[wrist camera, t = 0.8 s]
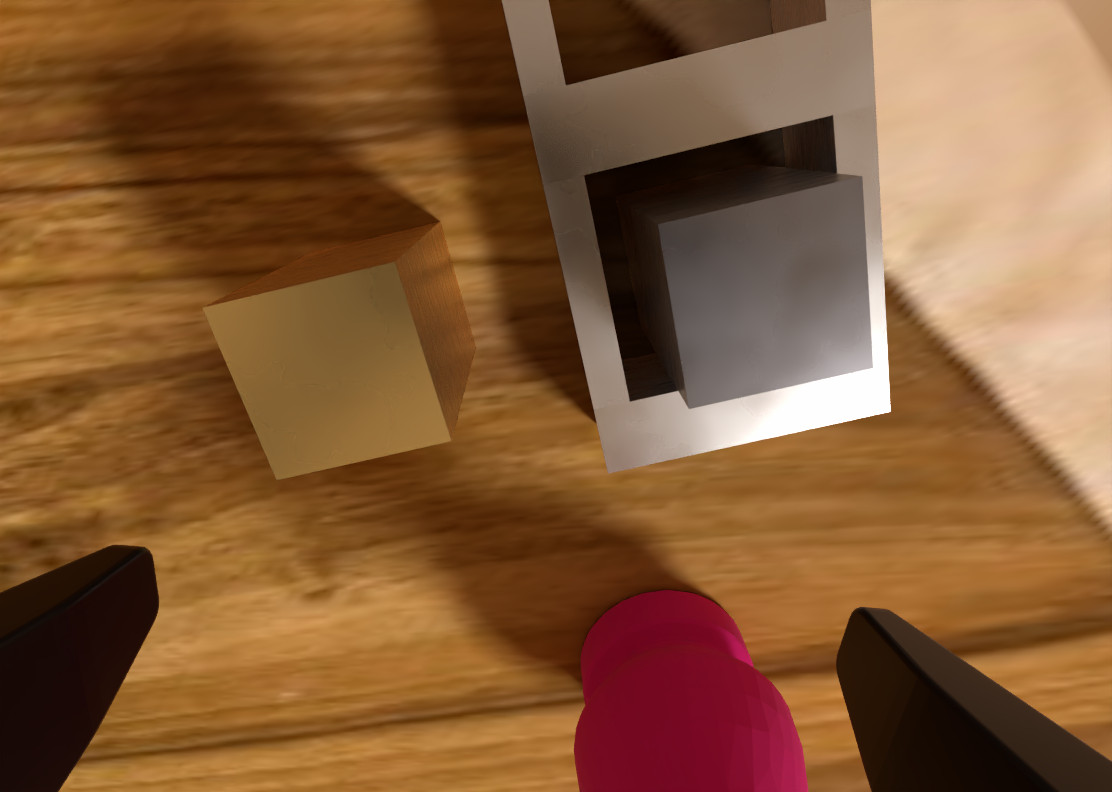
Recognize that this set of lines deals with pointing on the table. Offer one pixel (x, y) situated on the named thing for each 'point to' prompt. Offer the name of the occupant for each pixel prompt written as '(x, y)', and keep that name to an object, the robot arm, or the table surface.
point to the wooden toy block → (350, 351)
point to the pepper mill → (680, 704)
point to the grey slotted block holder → (723, 232)
